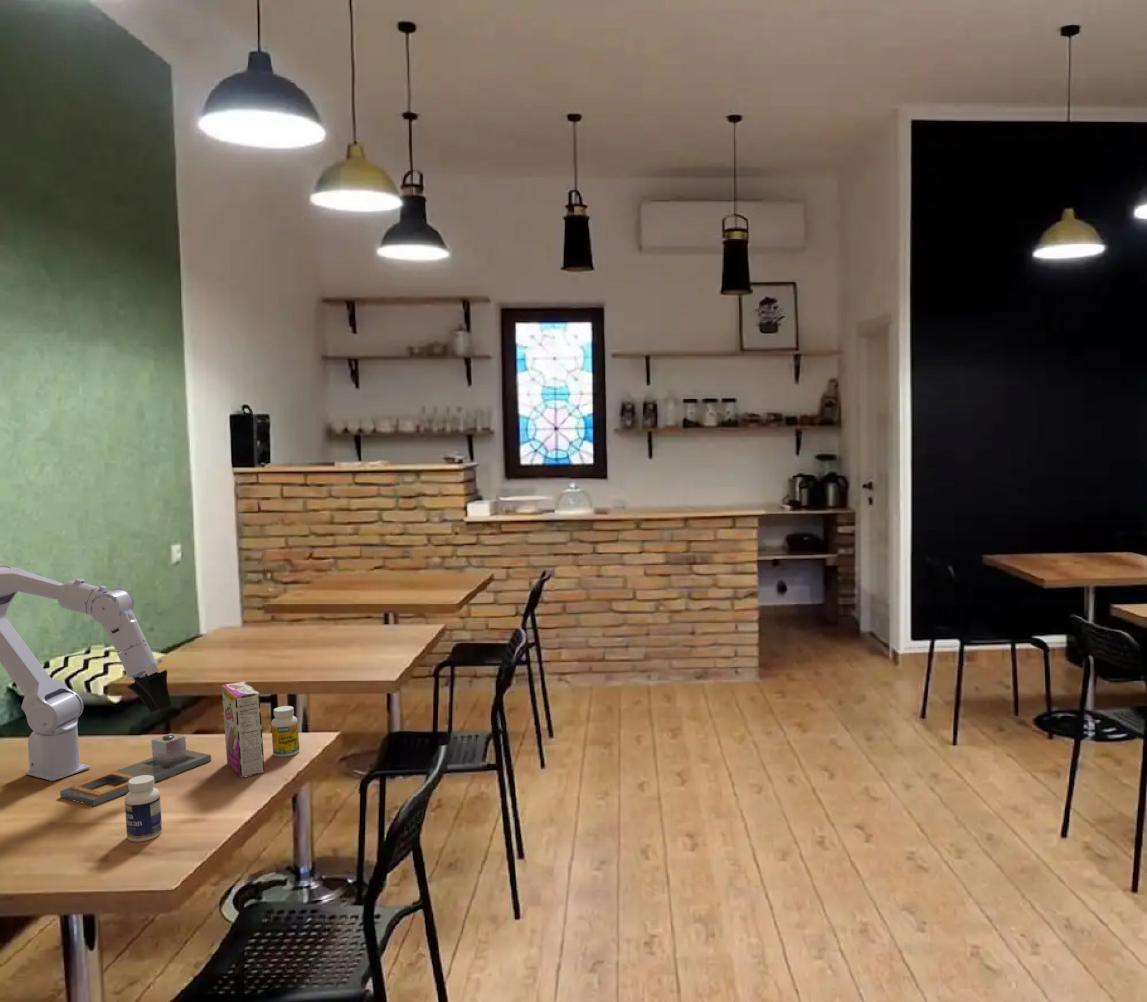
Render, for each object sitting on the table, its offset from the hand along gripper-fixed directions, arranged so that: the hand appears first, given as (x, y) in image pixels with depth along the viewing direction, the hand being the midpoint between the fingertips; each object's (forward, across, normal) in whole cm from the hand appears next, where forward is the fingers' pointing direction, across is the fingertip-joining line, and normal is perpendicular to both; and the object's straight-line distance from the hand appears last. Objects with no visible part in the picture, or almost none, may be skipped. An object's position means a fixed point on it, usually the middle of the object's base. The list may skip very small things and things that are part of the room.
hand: (161, 709), depth 187 cm
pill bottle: (+16, -25, +16) cm, 34 cm away
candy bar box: (+18, -5, -8) cm, 20 cm away
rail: (+10, +3, +8) cm, 14 cm away
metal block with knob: (+12, +6, +2) cm, 13 cm away
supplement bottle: (+20, -2, -18) cm, 27 cm away
